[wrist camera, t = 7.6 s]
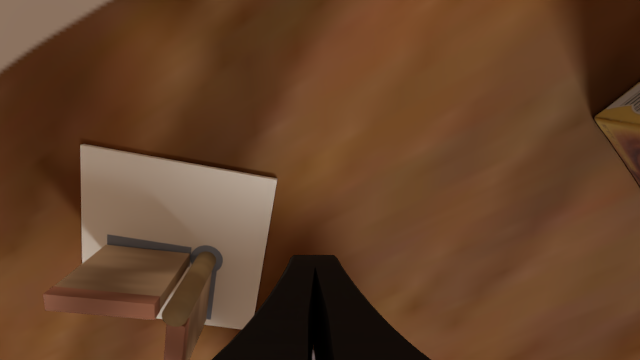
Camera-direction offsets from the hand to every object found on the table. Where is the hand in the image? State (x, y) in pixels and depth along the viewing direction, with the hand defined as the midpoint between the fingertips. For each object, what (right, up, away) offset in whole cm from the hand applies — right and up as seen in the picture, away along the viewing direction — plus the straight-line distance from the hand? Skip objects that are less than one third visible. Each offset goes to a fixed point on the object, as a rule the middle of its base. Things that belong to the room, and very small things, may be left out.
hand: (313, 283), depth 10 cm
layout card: (-9, -1, +10) cm, 14 cm away
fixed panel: (-7, -4, +11) cm, 14 cm away
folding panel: (-10, -1, +10) cm, 15 cm away
